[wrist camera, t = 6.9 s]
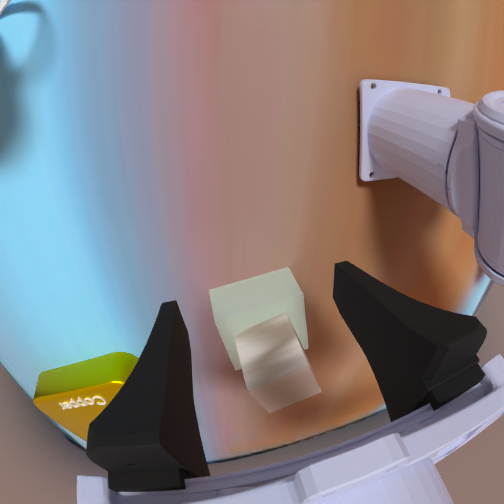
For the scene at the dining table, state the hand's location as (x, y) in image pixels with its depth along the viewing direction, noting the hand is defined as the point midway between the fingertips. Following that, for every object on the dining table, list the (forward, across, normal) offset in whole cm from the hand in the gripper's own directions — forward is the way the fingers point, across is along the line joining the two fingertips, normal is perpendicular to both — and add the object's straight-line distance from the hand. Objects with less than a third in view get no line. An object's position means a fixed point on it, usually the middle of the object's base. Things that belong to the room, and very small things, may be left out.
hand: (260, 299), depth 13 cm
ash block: (+7, -1, +11) cm, 13 cm away
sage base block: (+11, -1, +11) cm, 15 cm away
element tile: (+11, +18, +21) cm, 30 cm away
